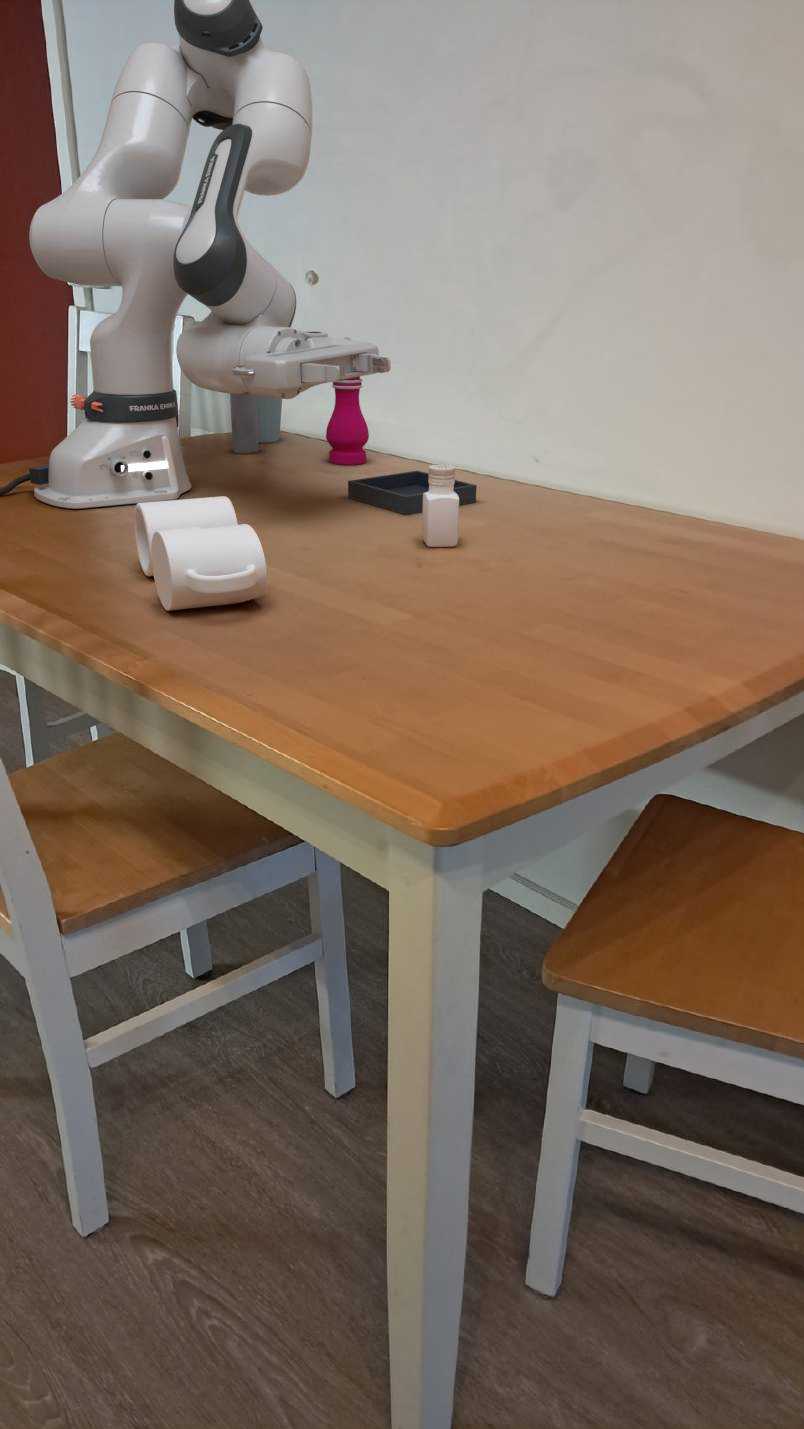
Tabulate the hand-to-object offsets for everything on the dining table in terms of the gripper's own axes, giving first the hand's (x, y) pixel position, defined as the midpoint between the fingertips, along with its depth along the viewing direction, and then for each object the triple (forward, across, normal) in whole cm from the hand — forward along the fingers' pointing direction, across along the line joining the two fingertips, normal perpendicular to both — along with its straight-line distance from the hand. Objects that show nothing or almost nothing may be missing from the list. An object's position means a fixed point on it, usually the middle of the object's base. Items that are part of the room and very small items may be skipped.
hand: (364, 369), depth 131 cm
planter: (-50, +31, +20) cm, 62 cm away
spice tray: (-5, +17, +20) cm, 27 cm away
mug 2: (+7, -36, +19) cm, 41 cm away
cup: (-55, +42, +20) cm, 72 cm away
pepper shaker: (+12, -1, +20) cm, 23 cm away
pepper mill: (-30, +35, +21) cm, 51 cm away
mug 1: (-6, -27, +19) cm, 34 cm away
